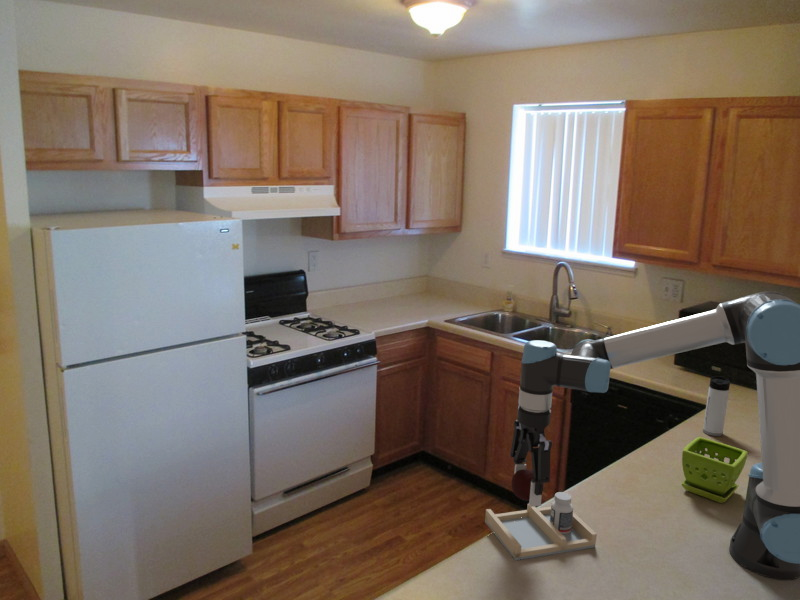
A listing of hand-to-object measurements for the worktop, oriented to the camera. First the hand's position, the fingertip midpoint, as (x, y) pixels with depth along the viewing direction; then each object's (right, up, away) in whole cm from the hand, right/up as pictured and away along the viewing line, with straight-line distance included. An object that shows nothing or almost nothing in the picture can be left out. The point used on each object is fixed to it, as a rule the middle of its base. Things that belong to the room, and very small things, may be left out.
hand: (526, 496), depth 151 cm
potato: (0, -1, 0) cm, 1 cm away
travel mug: (+79, 0, +70) cm, 106 cm away
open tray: (+4, -10, +3) cm, 11 cm away
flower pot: (+58, -8, +28) cm, 65 cm away
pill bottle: (+9, -10, +5) cm, 14 cm away
